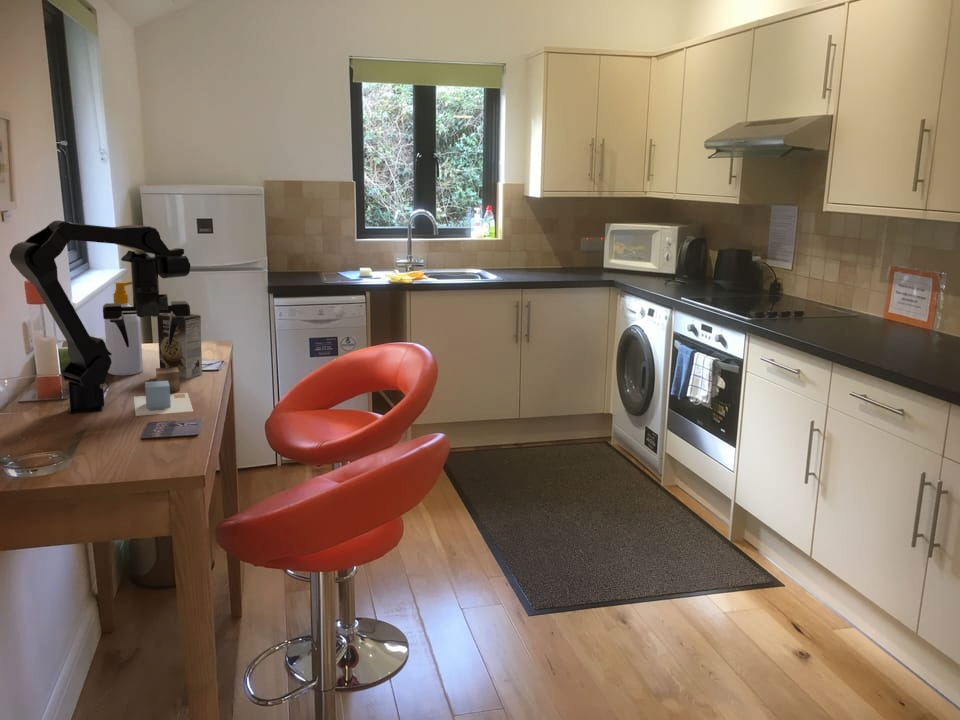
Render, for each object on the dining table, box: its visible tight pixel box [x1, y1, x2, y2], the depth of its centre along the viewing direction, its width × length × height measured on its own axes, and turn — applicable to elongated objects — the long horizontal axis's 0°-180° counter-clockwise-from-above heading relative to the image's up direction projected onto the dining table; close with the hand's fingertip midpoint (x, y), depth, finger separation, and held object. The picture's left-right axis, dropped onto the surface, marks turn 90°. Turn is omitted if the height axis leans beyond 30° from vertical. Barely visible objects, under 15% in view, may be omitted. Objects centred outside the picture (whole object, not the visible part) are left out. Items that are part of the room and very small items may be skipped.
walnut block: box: [155, 367, 181, 392], centre depth 201 cm, size 5×5×5 cm
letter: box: [133, 392, 194, 417], centre depth 189 cm, size 12×16×1 cm
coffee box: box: [156, 313, 203, 379], centre depth 213 cm, size 9×6×16 cm
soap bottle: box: [103, 281, 144, 377], centre depth 214 cm, size 9×9×24 cm
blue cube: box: [144, 380, 171, 409], centre depth 187 cm, size 5×5×5 cm
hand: (149, 345), depth 193 cm, fingers open, 9 cm apart
